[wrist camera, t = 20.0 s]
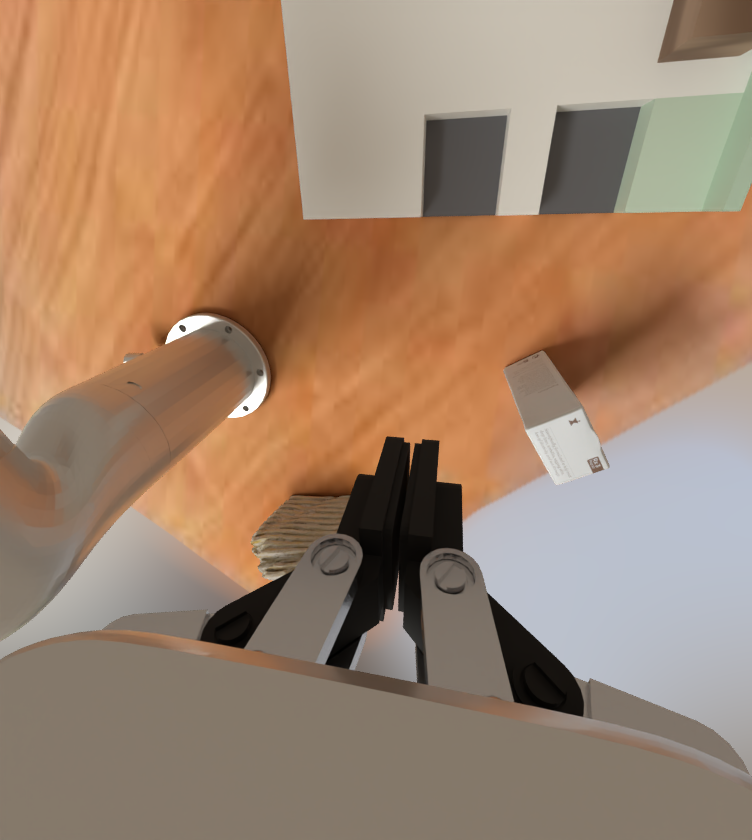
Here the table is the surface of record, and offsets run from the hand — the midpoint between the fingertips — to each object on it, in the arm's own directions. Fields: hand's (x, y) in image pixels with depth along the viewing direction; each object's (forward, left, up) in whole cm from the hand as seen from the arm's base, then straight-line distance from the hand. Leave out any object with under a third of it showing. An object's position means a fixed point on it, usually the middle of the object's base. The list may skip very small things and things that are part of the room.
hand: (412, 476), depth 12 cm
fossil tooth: (-15, -29, -27) cm, 43 cm away
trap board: (+3, +15, -27) cm, 31 cm away
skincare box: (+10, -8, -27) cm, 30 cm away
